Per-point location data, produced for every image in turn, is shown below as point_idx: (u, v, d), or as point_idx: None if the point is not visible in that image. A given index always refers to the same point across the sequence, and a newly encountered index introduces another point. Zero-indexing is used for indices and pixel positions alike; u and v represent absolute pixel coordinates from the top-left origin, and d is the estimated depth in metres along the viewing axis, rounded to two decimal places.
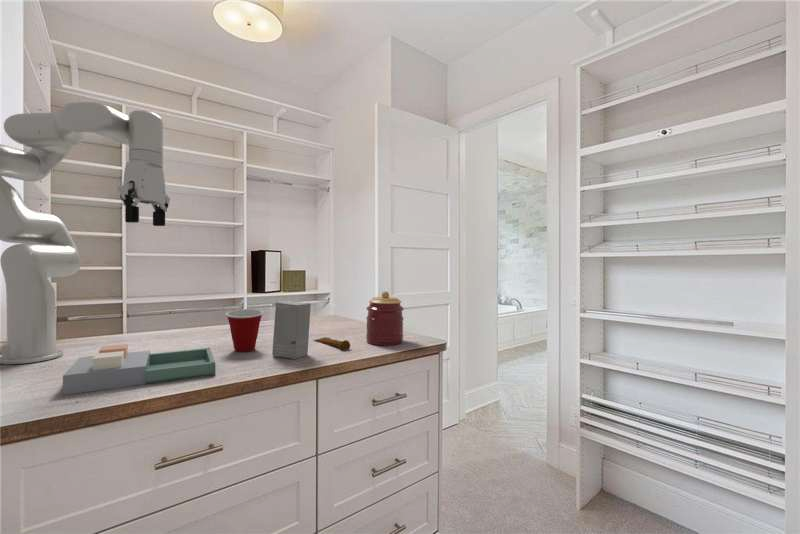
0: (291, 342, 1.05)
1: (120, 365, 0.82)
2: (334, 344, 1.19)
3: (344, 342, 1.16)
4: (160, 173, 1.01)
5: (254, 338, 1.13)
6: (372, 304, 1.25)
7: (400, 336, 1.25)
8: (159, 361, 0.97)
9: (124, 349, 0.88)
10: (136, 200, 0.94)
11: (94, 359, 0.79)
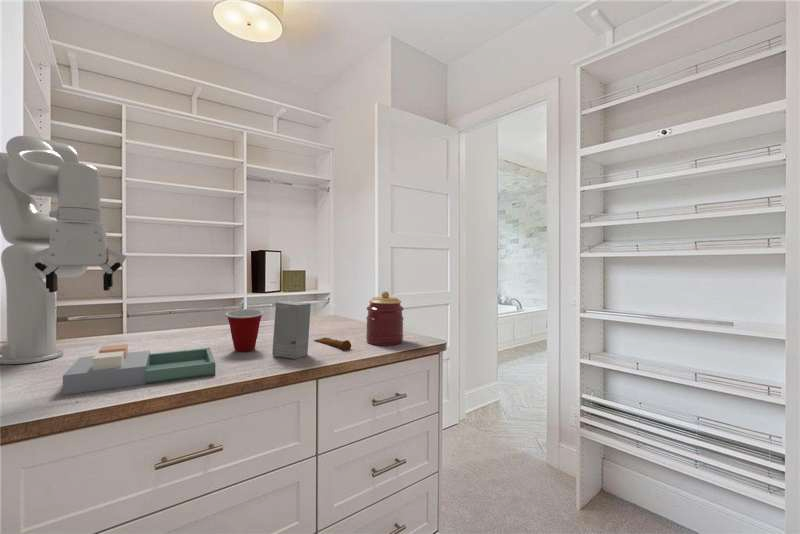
0: (291, 342, 1.05)
1: (120, 365, 0.82)
2: (335, 344, 1.19)
3: (345, 342, 1.16)
4: None
5: (254, 338, 1.13)
6: (372, 304, 1.25)
7: (400, 336, 1.25)
8: (159, 361, 0.97)
9: (124, 349, 0.88)
10: None
11: (94, 359, 0.79)
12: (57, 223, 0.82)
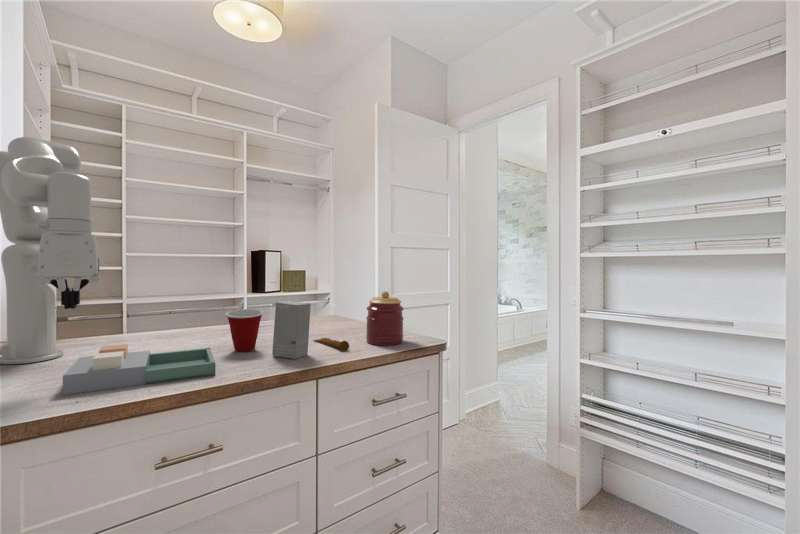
0: (291, 342, 1.05)
1: (120, 365, 0.82)
2: (333, 344, 1.18)
3: (343, 342, 1.15)
4: None
5: (254, 338, 1.13)
6: (372, 304, 1.25)
7: (400, 336, 1.25)
8: (159, 361, 0.97)
9: (124, 349, 0.88)
10: None
11: (94, 359, 0.79)
12: (47, 234, 0.81)
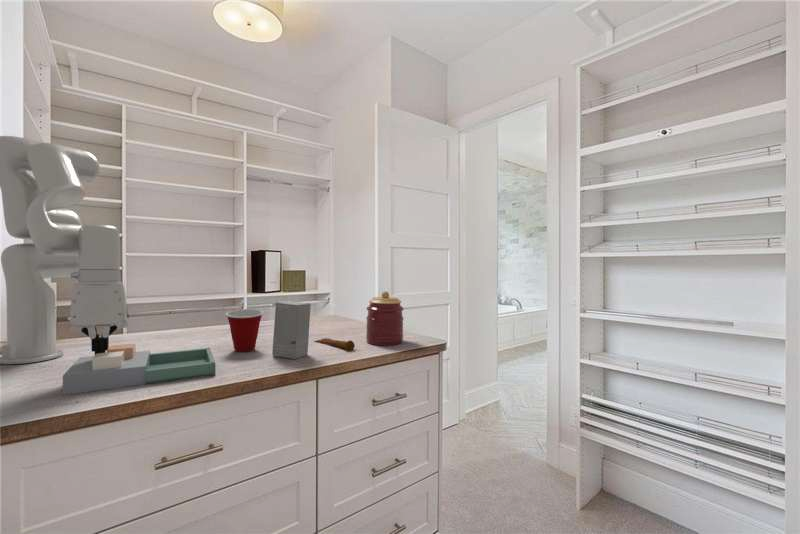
0: (291, 342, 1.05)
1: (120, 365, 0.82)
2: (338, 344, 1.19)
3: (349, 342, 1.15)
4: None
5: (254, 338, 1.13)
6: (372, 304, 1.25)
7: (400, 336, 1.25)
8: (159, 361, 0.97)
9: (131, 348, 0.89)
10: None
11: (94, 359, 0.79)
12: (79, 285, 0.84)
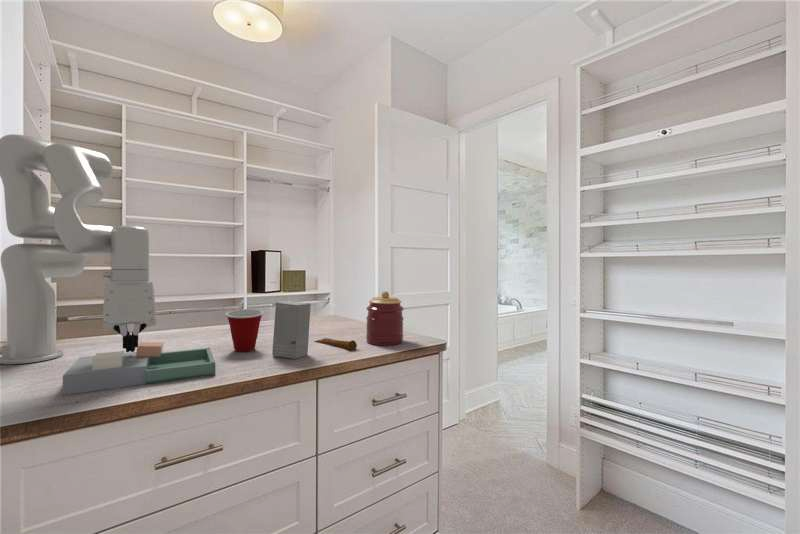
0: (291, 343, 1.05)
1: (120, 365, 0.82)
2: (339, 344, 1.19)
3: (351, 342, 1.16)
4: None
5: (254, 338, 1.13)
6: (372, 304, 1.25)
7: (400, 336, 1.25)
8: (159, 361, 0.97)
9: (160, 347, 0.92)
10: None
11: (94, 359, 0.79)
12: (111, 284, 0.87)
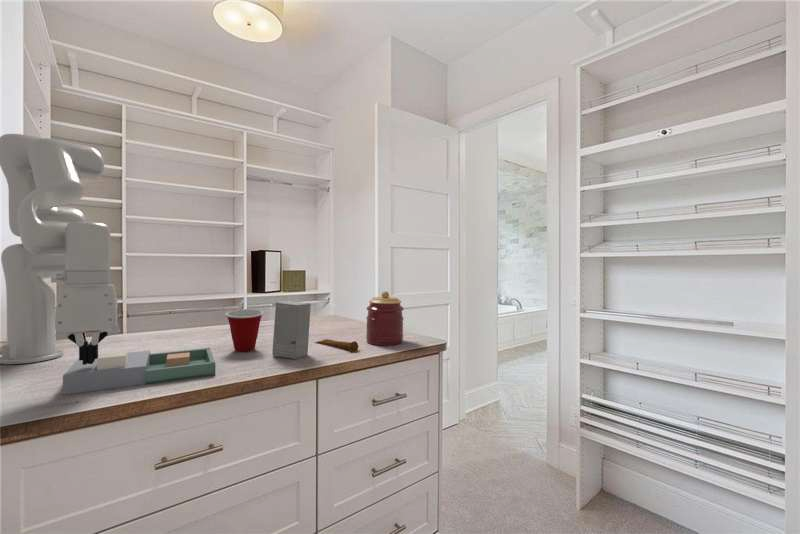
0: (291, 343, 1.05)
1: (124, 365, 0.82)
2: (341, 345, 1.17)
3: (353, 343, 1.14)
4: None
5: (254, 338, 1.13)
6: (372, 304, 1.25)
7: (400, 336, 1.25)
8: (159, 361, 0.97)
9: None
10: None
11: (99, 359, 0.80)
12: (65, 288, 0.77)
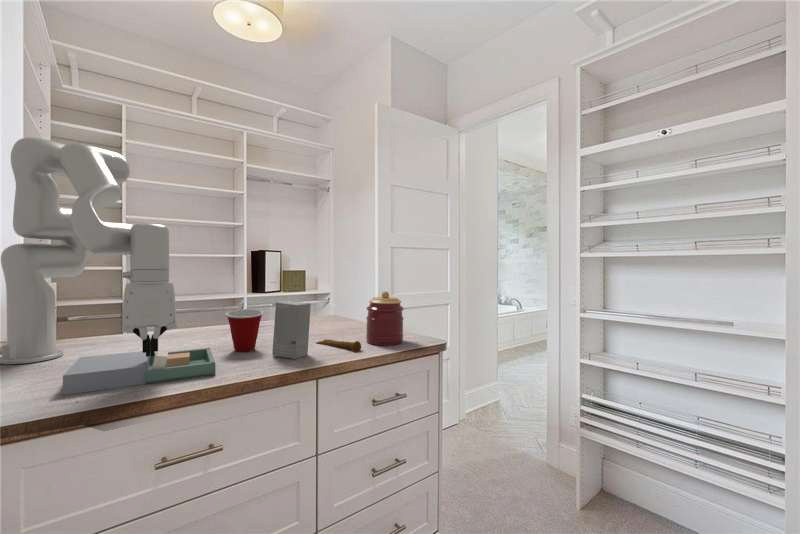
0: (291, 342, 1.05)
1: None
2: (343, 345, 1.17)
3: (356, 343, 1.15)
4: None
5: (254, 338, 1.13)
6: (372, 304, 1.25)
7: (400, 336, 1.25)
8: None
9: None
10: None
11: (166, 358, 0.86)
12: (131, 285, 0.82)
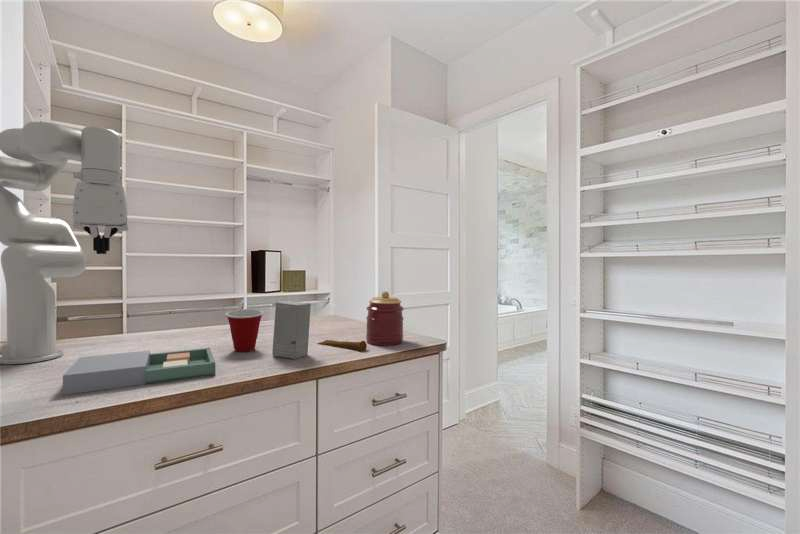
0: (291, 343, 1.05)
1: None
2: (348, 345, 1.17)
3: (362, 343, 1.15)
4: None
5: (254, 338, 1.13)
6: (372, 304, 1.25)
7: (400, 336, 1.25)
8: (159, 361, 0.97)
9: None
10: None
11: None
12: (81, 183, 0.87)
